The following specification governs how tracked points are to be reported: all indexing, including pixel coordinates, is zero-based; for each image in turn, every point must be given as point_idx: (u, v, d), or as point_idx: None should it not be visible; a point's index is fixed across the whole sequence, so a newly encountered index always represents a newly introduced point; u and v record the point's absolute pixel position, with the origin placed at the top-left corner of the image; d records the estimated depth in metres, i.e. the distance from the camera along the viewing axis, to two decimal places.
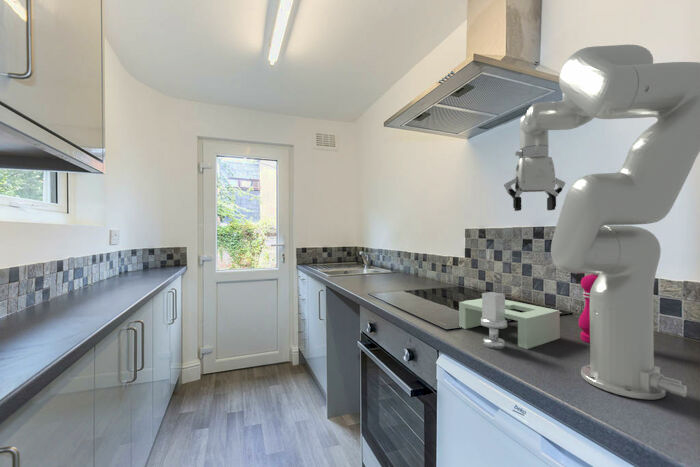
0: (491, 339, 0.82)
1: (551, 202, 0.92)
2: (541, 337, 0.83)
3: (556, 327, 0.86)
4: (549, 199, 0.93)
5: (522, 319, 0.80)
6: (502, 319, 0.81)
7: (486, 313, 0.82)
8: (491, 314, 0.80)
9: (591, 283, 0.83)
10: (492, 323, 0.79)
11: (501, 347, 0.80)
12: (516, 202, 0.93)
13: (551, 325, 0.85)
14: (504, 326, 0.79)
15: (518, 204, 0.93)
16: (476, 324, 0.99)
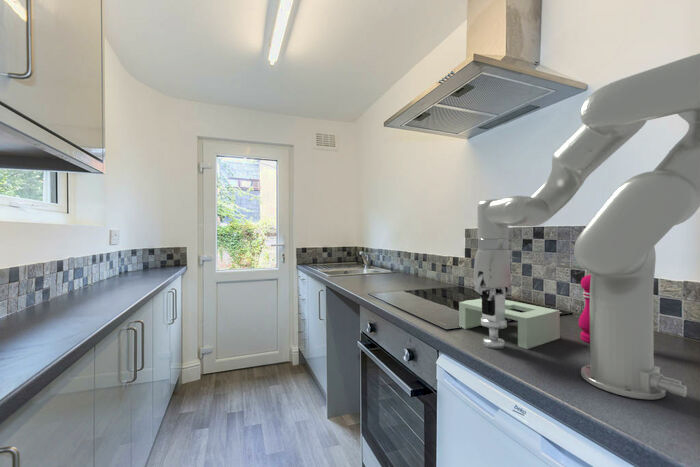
0: (491, 339, 0.82)
1: None
2: (541, 337, 0.83)
3: (556, 327, 0.86)
4: None
5: (522, 319, 0.80)
6: (502, 319, 0.81)
7: None
8: None
9: None
10: (492, 323, 0.79)
11: (501, 347, 0.80)
12: None
13: (551, 325, 0.85)
14: (504, 326, 0.79)
15: None
16: (476, 324, 0.99)
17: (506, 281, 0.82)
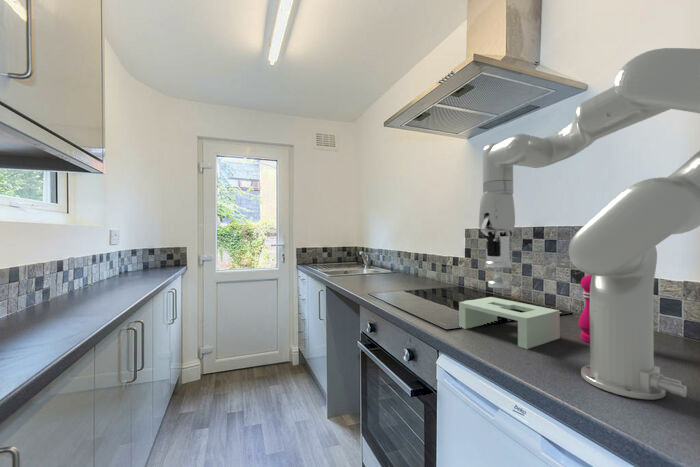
0: (496, 280, 0.83)
1: None
2: (541, 337, 0.83)
3: (556, 327, 0.86)
4: None
5: (522, 319, 0.80)
6: (507, 260, 0.83)
7: None
8: None
9: None
10: (497, 263, 0.81)
11: (506, 287, 0.81)
12: None
13: (551, 325, 0.85)
14: (509, 266, 0.81)
15: None
16: (476, 324, 0.99)
17: (511, 224, 0.83)
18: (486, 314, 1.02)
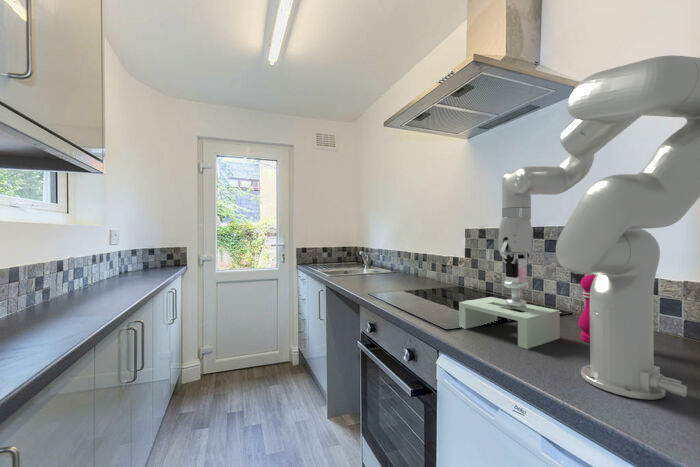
0: (514, 299, 0.90)
1: None
2: (541, 337, 0.83)
3: (556, 327, 0.86)
4: None
5: (522, 319, 0.80)
6: (524, 281, 0.89)
7: None
8: None
9: (591, 283, 0.83)
10: (515, 284, 0.87)
11: (523, 306, 0.88)
12: None
13: (551, 325, 0.85)
14: (526, 287, 0.87)
15: None
16: (476, 324, 0.99)
17: (528, 247, 0.89)
18: (486, 314, 1.02)
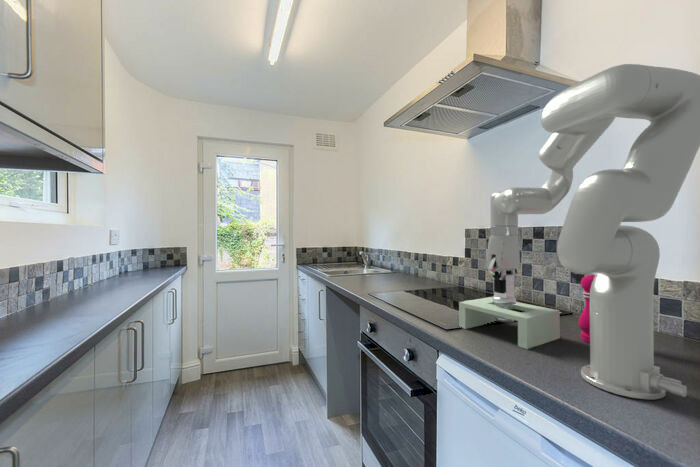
0: None
1: None
2: (541, 337, 0.83)
3: (556, 327, 0.86)
4: None
5: (522, 319, 0.80)
6: (512, 296, 0.92)
7: None
8: None
9: (591, 283, 0.83)
10: (503, 299, 0.91)
11: (511, 321, 0.91)
12: None
13: (551, 325, 0.85)
14: (514, 302, 0.91)
15: None
16: (476, 324, 0.99)
17: (516, 263, 0.93)
18: (486, 314, 1.02)
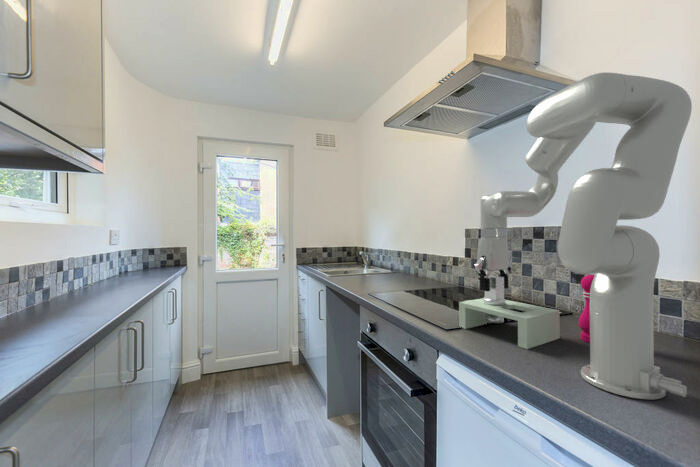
0: (492, 315, 0.96)
1: None
2: (541, 337, 0.83)
3: (556, 327, 0.86)
4: None
5: (522, 319, 0.80)
6: (501, 298, 0.95)
7: (488, 293, 0.96)
8: (492, 294, 0.95)
9: (591, 283, 0.83)
10: (493, 301, 0.94)
11: (500, 321, 0.94)
12: None
13: (551, 325, 0.85)
14: (503, 304, 0.94)
15: None
16: (476, 324, 0.99)
17: (505, 264, 0.96)
18: (486, 314, 1.02)
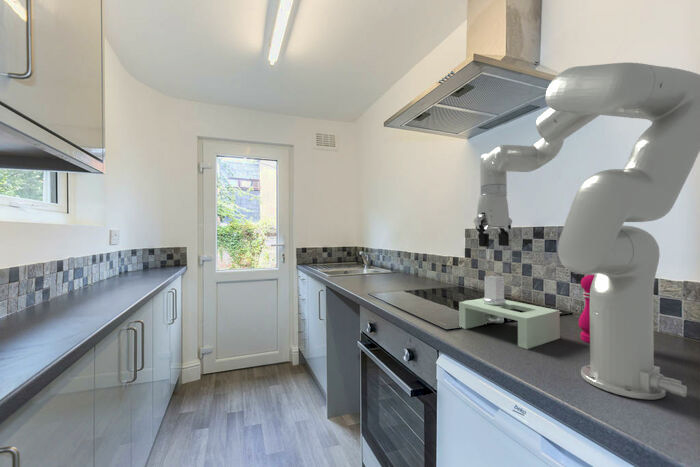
0: (492, 315, 0.96)
1: None
2: (541, 337, 0.83)
3: (556, 327, 0.86)
4: None
5: (522, 319, 0.80)
6: (501, 298, 0.95)
7: (488, 293, 0.96)
8: (492, 294, 0.95)
9: (591, 283, 0.83)
10: (493, 301, 0.94)
11: (500, 321, 0.94)
12: None
13: (551, 325, 0.85)
14: (503, 304, 0.94)
15: None
16: (476, 324, 0.99)
17: (505, 222, 0.96)
18: (486, 314, 1.02)
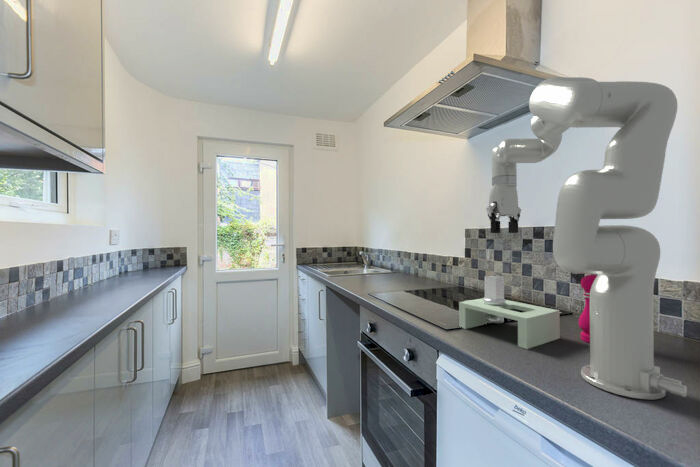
0: (492, 315, 0.96)
1: None
2: (541, 337, 0.83)
3: (556, 327, 0.86)
4: None
5: (522, 319, 0.80)
6: (501, 298, 0.95)
7: (488, 293, 0.96)
8: (492, 294, 0.95)
9: (591, 283, 0.83)
10: (493, 301, 0.94)
11: (500, 321, 0.94)
12: None
13: (551, 325, 0.85)
14: (503, 304, 0.94)
15: None
16: (476, 324, 0.99)
17: (515, 210, 1.03)
18: (486, 314, 1.02)
